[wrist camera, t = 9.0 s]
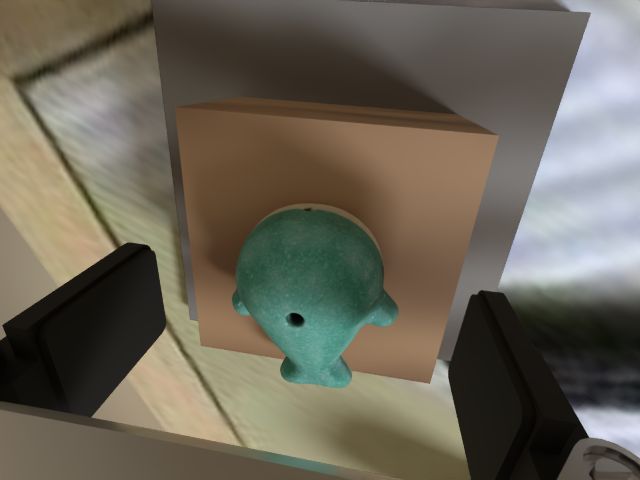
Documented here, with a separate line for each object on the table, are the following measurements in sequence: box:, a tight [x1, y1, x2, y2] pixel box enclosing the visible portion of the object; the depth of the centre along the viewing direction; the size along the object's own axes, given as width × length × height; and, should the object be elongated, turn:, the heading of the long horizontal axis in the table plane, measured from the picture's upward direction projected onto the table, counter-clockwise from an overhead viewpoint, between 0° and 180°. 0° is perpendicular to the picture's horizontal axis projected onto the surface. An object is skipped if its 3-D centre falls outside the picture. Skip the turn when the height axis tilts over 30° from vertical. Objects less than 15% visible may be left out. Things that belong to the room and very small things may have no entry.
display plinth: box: [151, 0, 591, 384], centre depth 16 cm, size 18×18×7 cm
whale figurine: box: [232, 203, 399, 388], centre depth 12 cm, size 6×7×4 cm
